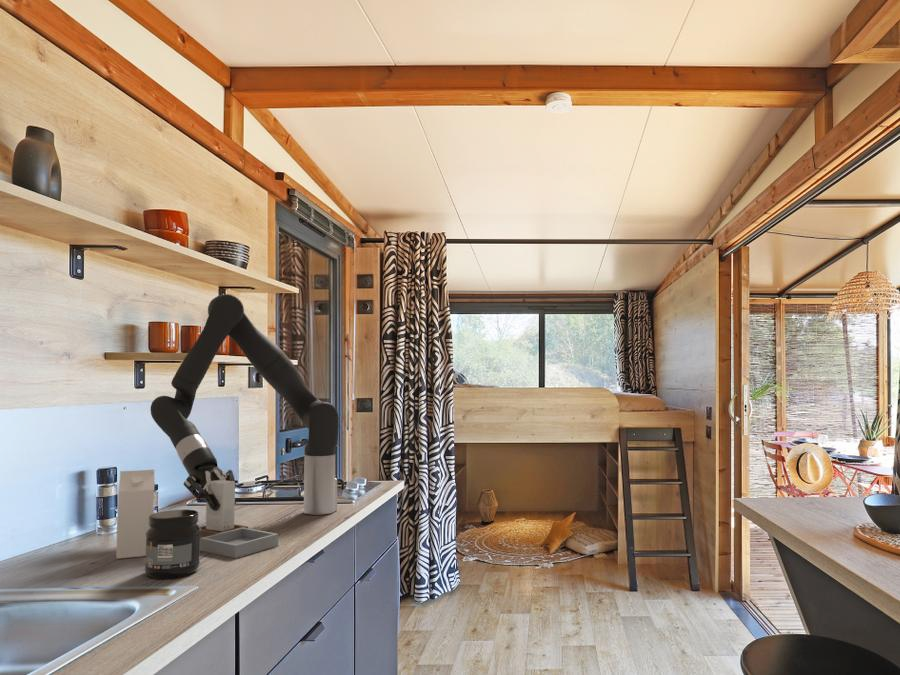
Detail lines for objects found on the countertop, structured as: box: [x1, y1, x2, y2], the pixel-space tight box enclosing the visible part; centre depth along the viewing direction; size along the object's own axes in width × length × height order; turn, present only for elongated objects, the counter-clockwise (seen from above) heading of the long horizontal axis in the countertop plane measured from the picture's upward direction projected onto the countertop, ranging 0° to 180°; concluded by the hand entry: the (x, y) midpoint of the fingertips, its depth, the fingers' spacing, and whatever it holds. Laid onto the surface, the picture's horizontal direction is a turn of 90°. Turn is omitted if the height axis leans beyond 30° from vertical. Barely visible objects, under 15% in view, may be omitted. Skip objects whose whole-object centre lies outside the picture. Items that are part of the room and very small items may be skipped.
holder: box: [199, 523, 249, 538], centre depth 160 cm, size 9×11×2 cm
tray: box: [199, 527, 279, 559], centre depth 150 cm, size 13×13×3 cm
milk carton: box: [115, 469, 155, 560], centre depth 146 cm, size 7×7×19 cm
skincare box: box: [205, 480, 236, 531], centre depth 161 cm, size 6×4×12 cm
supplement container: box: [144, 509, 201, 580], centre depth 131 cm, size 10×10×12 cm
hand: (225, 506), depth 160 cm, fingers closed on skincare box, 4 cm apart
